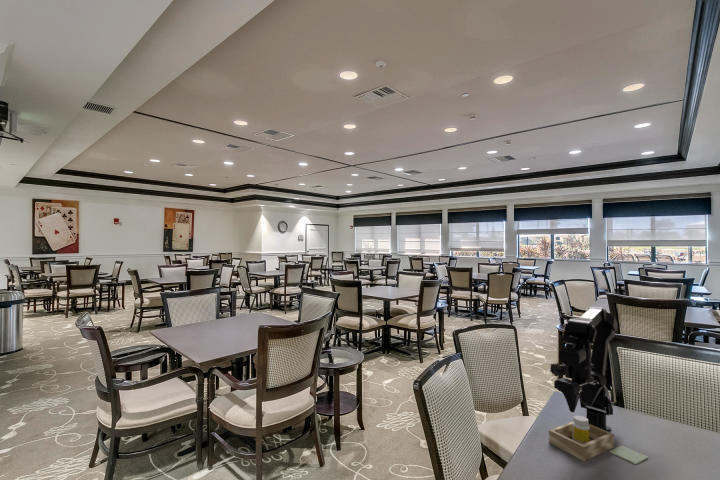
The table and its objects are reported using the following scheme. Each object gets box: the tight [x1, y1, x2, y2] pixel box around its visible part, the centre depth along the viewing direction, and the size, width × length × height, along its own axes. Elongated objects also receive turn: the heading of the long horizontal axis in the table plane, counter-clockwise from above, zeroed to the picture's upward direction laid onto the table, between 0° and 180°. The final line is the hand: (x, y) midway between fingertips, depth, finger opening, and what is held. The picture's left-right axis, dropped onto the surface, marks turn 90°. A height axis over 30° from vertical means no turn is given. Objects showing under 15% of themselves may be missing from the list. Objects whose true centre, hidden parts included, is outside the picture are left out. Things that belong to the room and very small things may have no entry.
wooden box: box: [548, 420, 615, 462], centre depth 113 cm, size 16×11×4 cm
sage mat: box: [609, 444, 649, 465], centre depth 107 cm, size 7×7×1 cm
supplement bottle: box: [571, 415, 591, 445], centre depth 113 cm, size 5×5×8 cm
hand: (580, 408), depth 113 cm, fingers open, 9 cm apart
